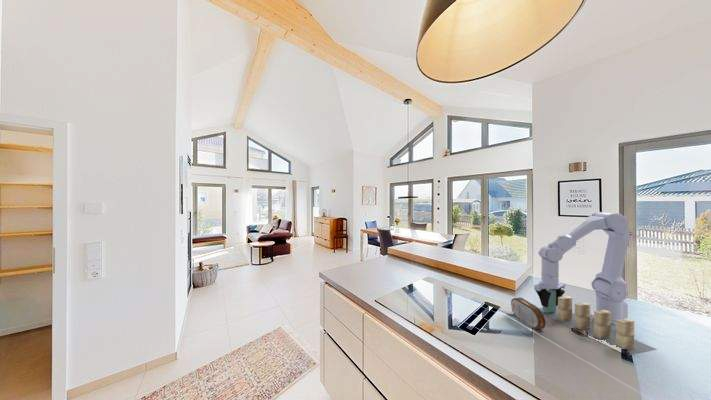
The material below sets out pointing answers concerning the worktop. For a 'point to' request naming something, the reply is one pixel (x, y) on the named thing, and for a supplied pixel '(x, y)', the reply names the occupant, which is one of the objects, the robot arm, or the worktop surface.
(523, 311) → the tin
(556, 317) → the felt mat
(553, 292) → the domino
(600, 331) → the domino
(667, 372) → the worktop surface
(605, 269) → the robot arm
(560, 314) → the domino
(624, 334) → the domino
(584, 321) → the domino
